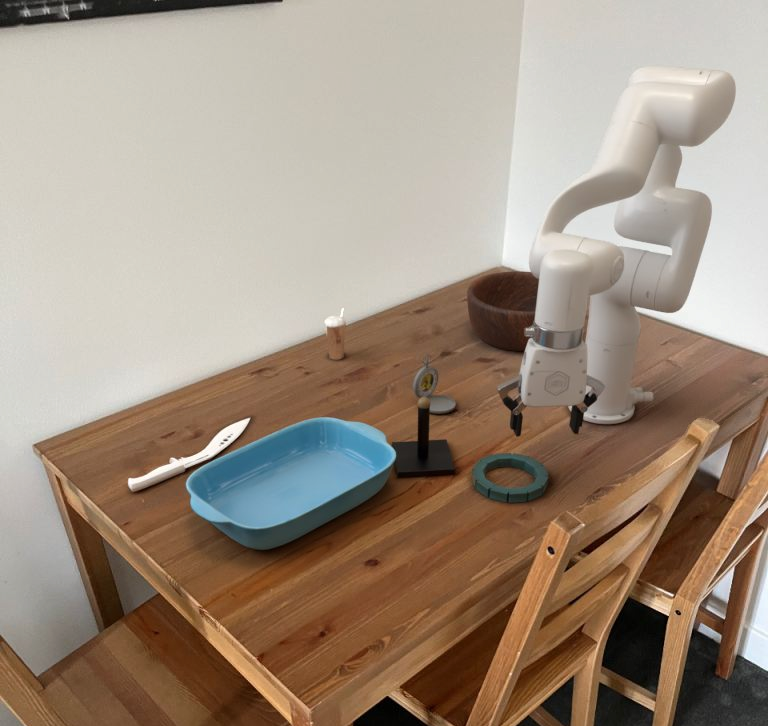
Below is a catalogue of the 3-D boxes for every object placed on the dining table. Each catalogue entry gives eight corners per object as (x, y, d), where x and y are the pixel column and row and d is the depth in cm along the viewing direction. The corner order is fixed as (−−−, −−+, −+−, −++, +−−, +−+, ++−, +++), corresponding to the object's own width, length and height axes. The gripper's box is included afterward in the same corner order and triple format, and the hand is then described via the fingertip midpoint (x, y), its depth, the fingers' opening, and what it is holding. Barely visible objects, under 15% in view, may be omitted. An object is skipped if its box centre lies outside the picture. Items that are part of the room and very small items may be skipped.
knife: (249, 413, 164) (274, 427, 160) (250, 420, 165) (275, 435, 161) (108, 468, 147) (132, 486, 142) (110, 476, 148) (133, 494, 143)
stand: (446, 444, 156) (448, 382, 149) (454, 474, 148) (458, 410, 141) (391, 447, 155) (391, 385, 148) (397, 478, 147) (397, 413, 140)
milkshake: (353, 353, 187) (351, 310, 181) (339, 363, 183) (337, 319, 178) (336, 349, 189) (334, 306, 183) (322, 358, 185) (319, 314, 180)
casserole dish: (333, 436, 159) (331, 402, 155) (420, 483, 146) (421, 447, 142) (164, 520, 138) (157, 483, 134) (249, 583, 125) (244, 545, 121)
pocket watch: (453, 417, 164) (455, 370, 158) (410, 413, 166) (410, 366, 160) (458, 397, 171) (460, 351, 165) (417, 393, 172) (418, 347, 166)
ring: (536, 459, 152) (537, 451, 151) (554, 500, 142) (556, 491, 141) (467, 463, 151) (467, 455, 150) (480, 504, 141) (480, 495, 140)
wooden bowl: (584, 358, 185) (590, 313, 179) (468, 358, 185) (471, 313, 179) (565, 312, 205) (571, 270, 199) (461, 312, 205) (463, 270, 199)
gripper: (507, 346, 127) (498, 445, 137) (620, 342, 128) (603, 440, 138) (497, 326, 133) (489, 422, 143) (605, 322, 134) (589, 418, 144)
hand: (545, 431), depth 141 cm, fingers open, 9 cm apart
